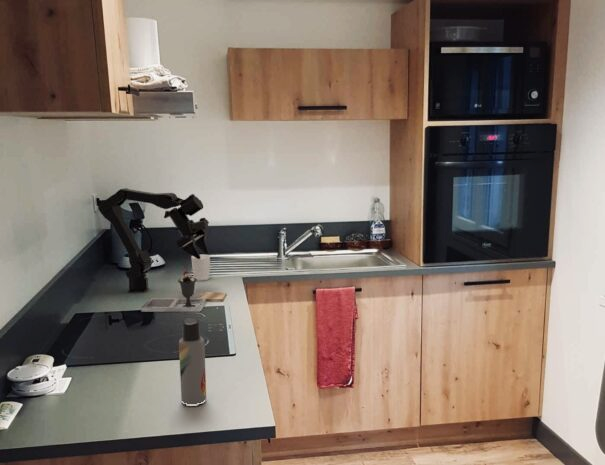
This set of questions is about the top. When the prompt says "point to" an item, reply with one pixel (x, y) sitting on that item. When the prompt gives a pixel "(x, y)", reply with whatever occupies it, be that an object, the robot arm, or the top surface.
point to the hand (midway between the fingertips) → (203, 256)
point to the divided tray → (171, 305)
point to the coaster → (213, 296)
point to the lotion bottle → (192, 363)
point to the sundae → (187, 287)
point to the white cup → (201, 267)
